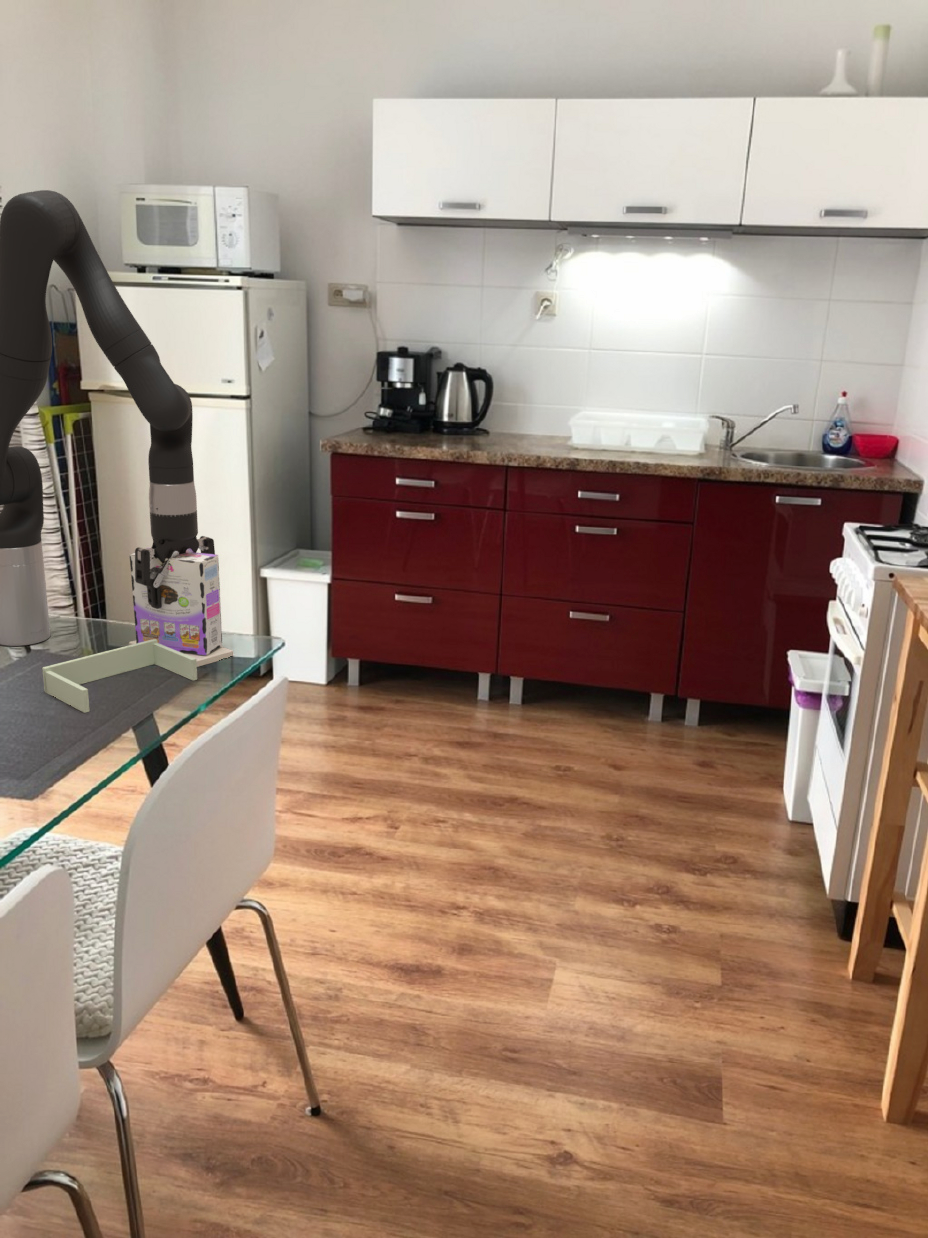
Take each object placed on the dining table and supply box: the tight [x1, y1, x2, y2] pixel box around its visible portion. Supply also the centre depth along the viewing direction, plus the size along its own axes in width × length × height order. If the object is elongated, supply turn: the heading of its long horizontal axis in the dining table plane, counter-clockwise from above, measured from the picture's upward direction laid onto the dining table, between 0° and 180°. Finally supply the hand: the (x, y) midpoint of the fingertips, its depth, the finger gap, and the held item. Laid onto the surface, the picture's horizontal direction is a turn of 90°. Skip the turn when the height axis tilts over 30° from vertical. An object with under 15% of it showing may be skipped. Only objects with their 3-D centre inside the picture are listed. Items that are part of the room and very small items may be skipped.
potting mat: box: [128, 639, 234, 668], centre depth 179 cm, size 16×10×1 cm, turn 49°
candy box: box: [129, 547, 223, 655], centre depth 176 cm, size 14×6×16 cm, turn 72°
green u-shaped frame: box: [42, 639, 198, 714], centre depth 163 cm, size 12×20×4 cm, turn 139°
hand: (178, 602), depth 176 cm, fingers open, 8 cm apart
